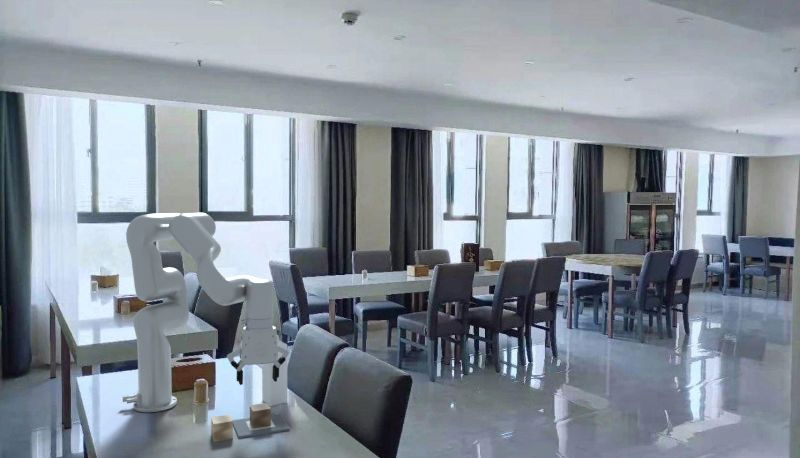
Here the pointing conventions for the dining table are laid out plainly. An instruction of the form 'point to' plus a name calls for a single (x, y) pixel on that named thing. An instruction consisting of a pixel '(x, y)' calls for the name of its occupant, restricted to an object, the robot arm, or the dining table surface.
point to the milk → (270, 389)
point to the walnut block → (260, 415)
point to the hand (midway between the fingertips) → (257, 381)
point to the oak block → (221, 428)
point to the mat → (246, 430)
